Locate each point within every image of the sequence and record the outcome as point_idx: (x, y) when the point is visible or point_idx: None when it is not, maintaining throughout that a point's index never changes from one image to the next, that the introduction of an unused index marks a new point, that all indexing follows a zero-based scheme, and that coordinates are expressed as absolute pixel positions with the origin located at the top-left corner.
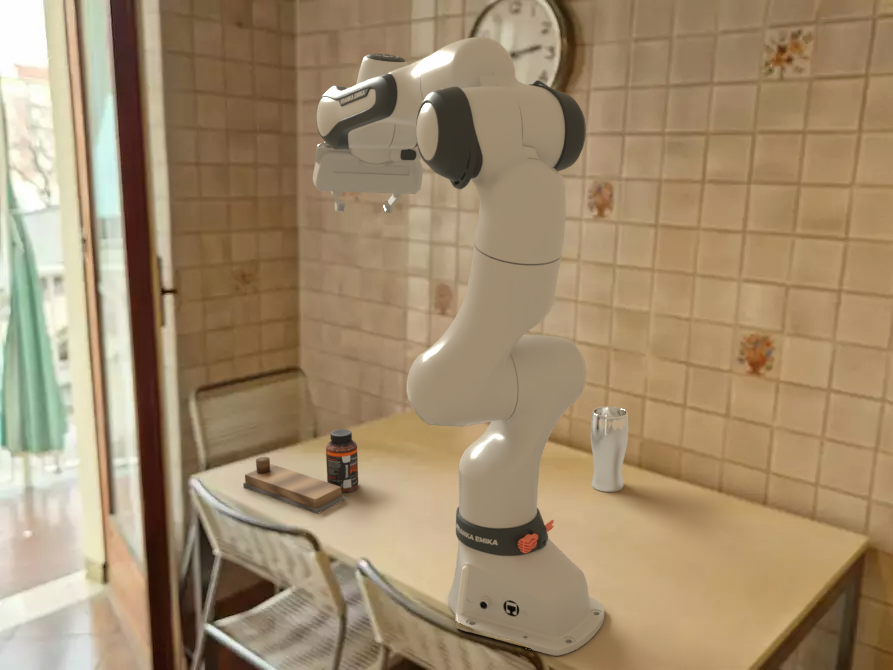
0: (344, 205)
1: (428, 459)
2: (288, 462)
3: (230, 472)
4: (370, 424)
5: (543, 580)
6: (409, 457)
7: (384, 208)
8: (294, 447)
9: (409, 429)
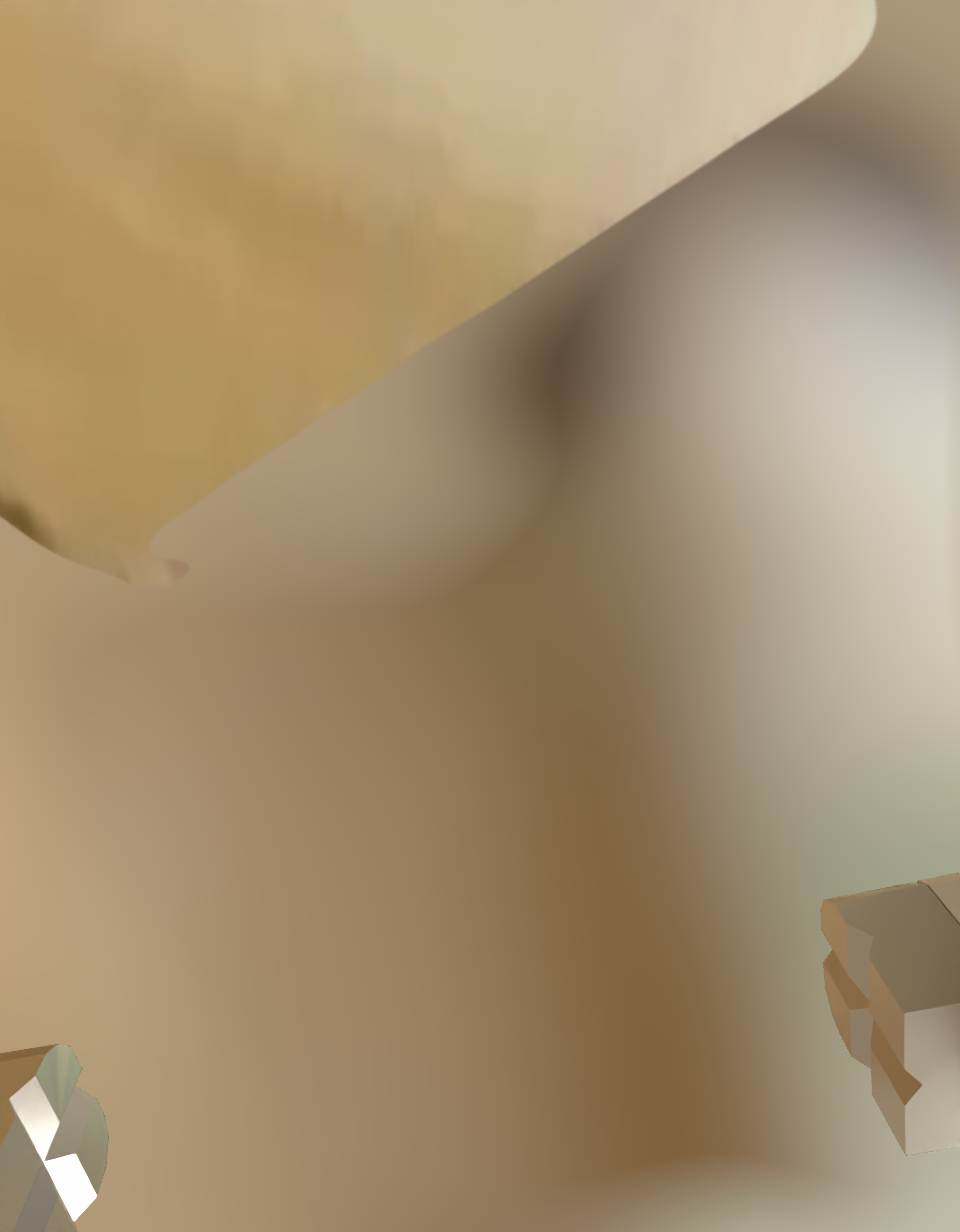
0: (896, 991)
1: (49, 34)
2: (588, 116)
3: (783, 55)
4: (302, 428)
5: None
6: (136, 75)
7: (62, 1140)
8: (555, 258)
9: (161, 369)
